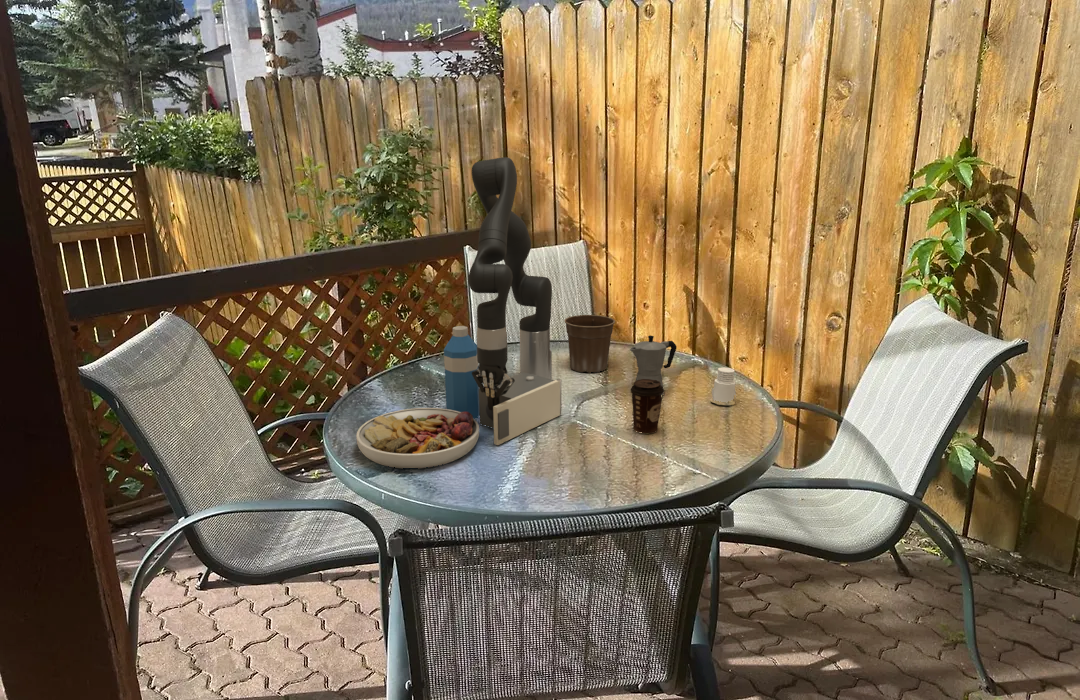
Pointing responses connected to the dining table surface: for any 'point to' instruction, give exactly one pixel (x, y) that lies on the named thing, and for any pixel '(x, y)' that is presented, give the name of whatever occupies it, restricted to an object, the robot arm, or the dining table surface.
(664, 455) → the dining table surface
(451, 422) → the bowl
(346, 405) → the dining table surface
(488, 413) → the grey button box
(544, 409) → the case door
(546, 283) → the robot arm
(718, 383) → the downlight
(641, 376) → the coffeepot
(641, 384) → the coffee cup
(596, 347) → the plant pot
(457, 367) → the water bottle
